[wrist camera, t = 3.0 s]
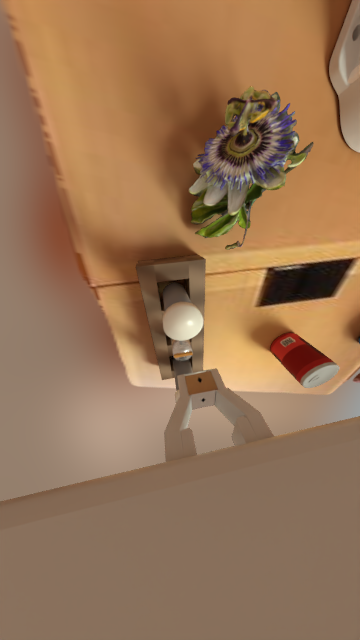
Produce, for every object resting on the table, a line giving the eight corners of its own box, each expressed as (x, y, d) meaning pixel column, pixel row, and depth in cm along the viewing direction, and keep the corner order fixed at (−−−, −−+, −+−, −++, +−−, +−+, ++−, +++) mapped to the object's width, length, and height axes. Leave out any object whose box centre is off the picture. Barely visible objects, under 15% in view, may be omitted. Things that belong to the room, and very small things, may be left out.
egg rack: (138, 261, 23) (135, 266, 20) (198, 254, 24) (205, 259, 21) (161, 366, 38) (162, 379, 34) (198, 360, 39) (202, 372, 35)
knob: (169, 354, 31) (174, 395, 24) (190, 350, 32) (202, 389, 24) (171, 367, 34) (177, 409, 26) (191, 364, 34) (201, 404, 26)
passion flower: (202, 169, 23) (284, 25, 12) (243, 225, 26) (336, 154, 15) (160, 210, 20) (216, 67, 9) (212, 268, 23) (301, 218, 12)
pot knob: (168, 326, 27) (172, 349, 22) (185, 323, 28) (193, 346, 22) (170, 339, 29) (174, 363, 24) (186, 336, 29) (193, 360, 24)
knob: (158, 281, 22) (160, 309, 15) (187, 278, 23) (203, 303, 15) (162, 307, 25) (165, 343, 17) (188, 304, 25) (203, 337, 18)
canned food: (264, 352, 41) (295, 388, 32) (279, 330, 37) (321, 363, 28) (285, 354, 43) (320, 388, 34) (302, 332, 39) (347, 365, 30)
